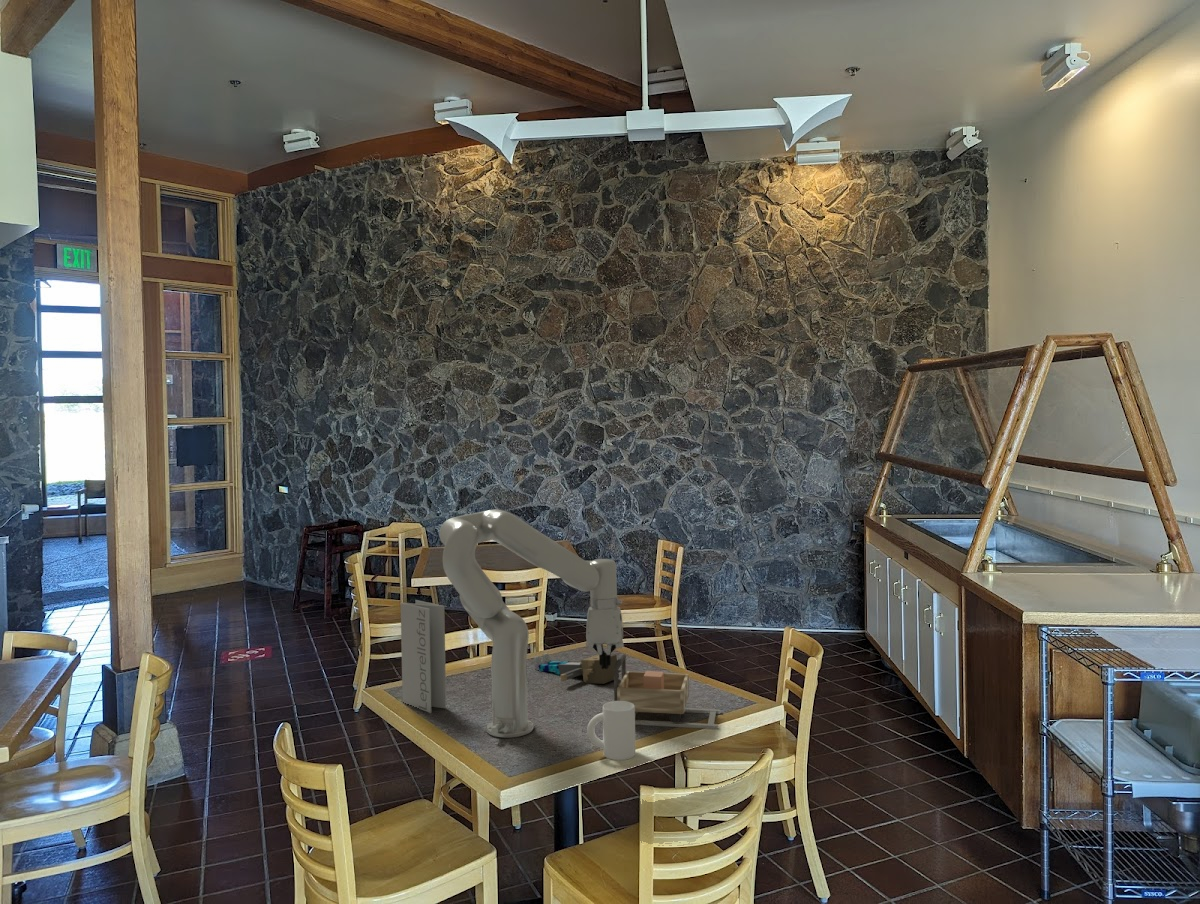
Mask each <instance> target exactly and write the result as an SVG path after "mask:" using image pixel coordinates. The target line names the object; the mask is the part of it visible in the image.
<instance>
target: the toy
mask: <svg viewBox="0 0 1200 904" xmlns="http://www.w3.org/2000/svg"><path fill="white" fill-rule="evenodd" d="M617 656H618V655H617V654H611V665H609V667H608V669H605V668H604V669H602V667H601V665H600V662H599V654H595V655H591V656H590V657H586V658H584V659H583V658H582V659H580V660H578V659H577V660H574V659H573V660H572V659H571V660H570V659H569V660H568V661H564V660H563V661H559V660H558V661H557V660H555V661H554V660H551V659H550V658H549V653H548V652H545V653H543V654H542V662H541V661H540V660H541V659H540V655H538V656H533V664H534V670H535V669H536V670H535V671H537V670H540V671H539V672H554V674H555V675H560V682H566V681H568V680H570V679H573V678H576V677H579V676H582V679H583V683H586V684H598V685H599V684H603V685H604V684H607V683H609V682H611V681H614V669H613V666H614V665H615V663H616V661H617V660H618V657H617ZM619 672H620V671H619V670H618V679H619V678H620V674H619Z"/></svg>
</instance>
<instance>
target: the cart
mask: <svg viewBox="0 0 1200 904" xmlns="http://www.w3.org/2000/svg"><path fill="white" fill-rule="evenodd" d="M626 657H627V654H626V653H624V652H623V653H621V654H620V655H619V657H617V661H616V663H615V665H614V666H613V669H614V680H613V691H614V692H613V698H614V699H613V701H627V702H630V703H633V704H634V706H635V712H638V713H653V714H669V720H670V722H674V723H676V722H680V720H681V718H682V716H681V715H684V714H685V712H684V711H685V708H687V703H688V699H689V697H690V685H689V684H690V673H674V672H673V673H671V672H664V689H646V688H644V686H643V676H644V674H645V672H646V671H631V670H630V671H629V670H627V669H626V663H627V662H626ZM620 667H621V681H620V682H619V678H618V671H619V669H620ZM626 670H627V671H626Z"/></svg>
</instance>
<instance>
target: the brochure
mask: <svg viewBox="0 0 1200 904" xmlns="http://www.w3.org/2000/svg"><path fill="white" fill-rule="evenodd" d="M445 623H446V622H445V605H441V604H436V603H432V602H426V601H423V600H420V599H419V600H418V599H415V603H412V602H411V603H410V602H400V629H401V630H400V638H401V639H400V640H401V642H400V644H401V646H400V647H401V681H402V682H401V683H402V684H401V685H402V687H401V688H402V693H401V695H402V703H403V702H404V703H403V704H405V703H406V704H405V705H407V704H409V705H408V706H410V705H412V706H411V707H413V706H414V707H413V708H415V707H417V708H416V709H418V708H419V709H418V710H421V711H424V712H427V713H429V714H432V708H439V709H440V708H441V709H447V678H446V677H447V676H446V675H447V673H446V631H445V629H446V626H445V625H446V624H445Z"/></svg>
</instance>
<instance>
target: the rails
mask: <svg viewBox="0 0 1200 904" xmlns="http://www.w3.org/2000/svg"><path fill="white" fill-rule="evenodd" d="M638 713H639V712H635V718H636V717H637V715H638ZM684 713H694V714H695V713H696V714H709V715H708V721H707V723H701V722H700V723H699V722H685V721H684V722H682V721H678V722H676V723H674V722H672V721H665V720H663V721H662V720H646V719H645V720H644V719H635V726H636V725H637V726H651V727H652V726H654V727H675V728H690V729H692V728H693V729H706V730H707V729H709V730H718V729H719V724H718V723H717V724H716V723H715V722H716V721H715V720H716V717H717V715H720V714H721V709H715V708H695V707H685V711H684Z"/></svg>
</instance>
